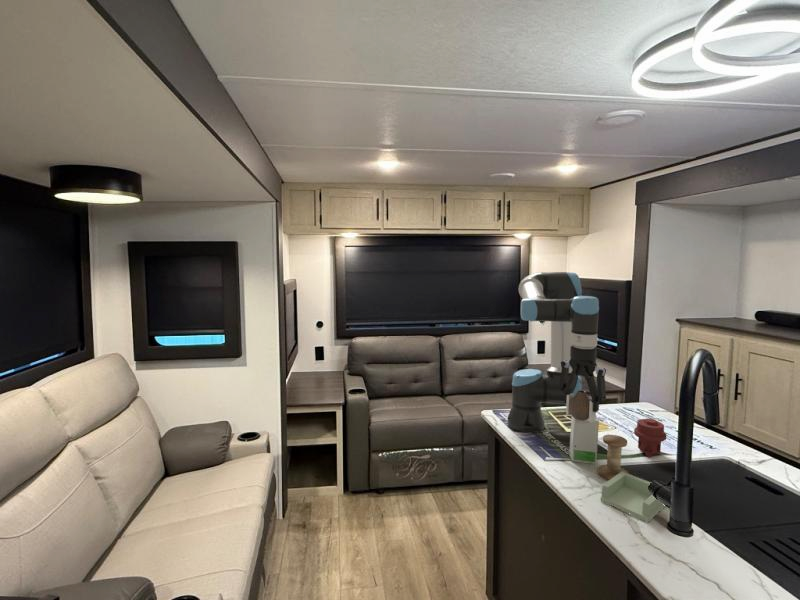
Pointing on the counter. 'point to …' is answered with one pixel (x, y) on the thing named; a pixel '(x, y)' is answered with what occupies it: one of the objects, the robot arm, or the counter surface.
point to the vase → (580, 406)
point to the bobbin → (612, 457)
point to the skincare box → (584, 440)
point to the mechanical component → (650, 436)
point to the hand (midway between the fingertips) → (580, 417)
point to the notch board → (631, 496)
